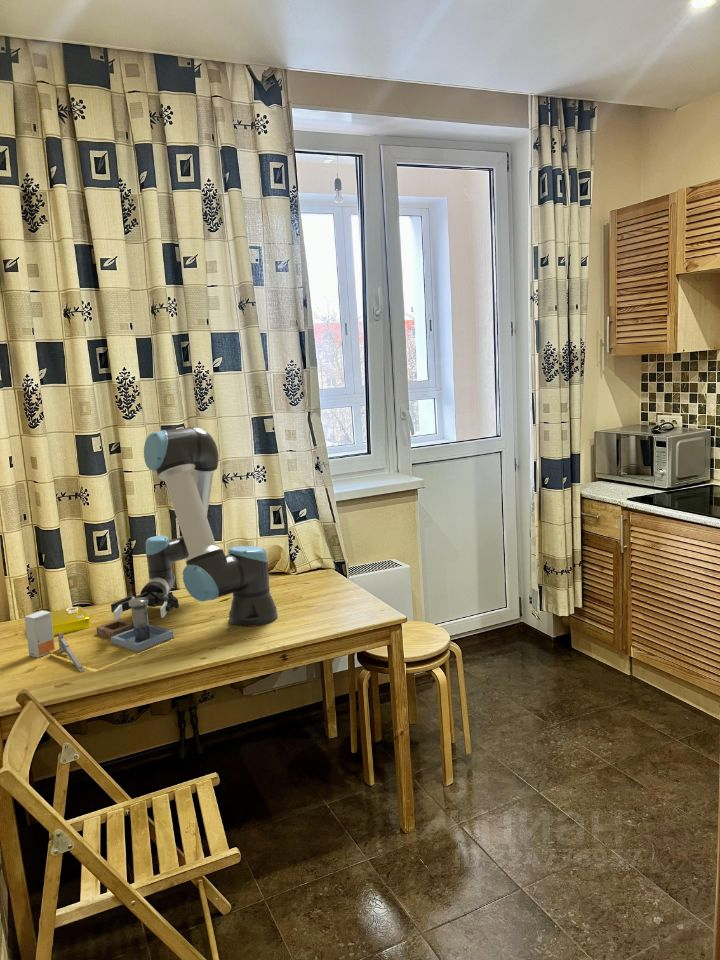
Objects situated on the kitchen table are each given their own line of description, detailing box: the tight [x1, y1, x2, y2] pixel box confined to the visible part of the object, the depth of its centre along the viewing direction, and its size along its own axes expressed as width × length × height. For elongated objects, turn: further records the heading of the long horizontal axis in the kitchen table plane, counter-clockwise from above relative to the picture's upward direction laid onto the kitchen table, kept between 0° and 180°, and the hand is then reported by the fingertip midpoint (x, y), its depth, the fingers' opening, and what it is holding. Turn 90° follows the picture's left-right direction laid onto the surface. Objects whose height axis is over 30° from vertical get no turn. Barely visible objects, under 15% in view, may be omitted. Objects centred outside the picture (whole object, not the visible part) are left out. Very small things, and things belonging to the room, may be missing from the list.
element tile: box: [50, 605, 92, 637], centre depth 236 cm, size 15×15×5 cm
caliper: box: [57, 632, 85, 673], centre depth 209 cm, size 20×1×6 cm, turn 37°
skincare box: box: [24, 610, 56, 659], centre depth 215 cm, size 6×4×12 cm
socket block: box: [96, 618, 134, 639], centre depth 229 cm, size 8×8×3 cm
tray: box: [110, 624, 175, 654], centre depth 221 cm, size 13×13×2 cm
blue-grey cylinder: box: [129, 597, 150, 643], centre depth 220 cm, size 6×6×12 cm
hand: (138, 614), depth 218 cm, fingers open, 13 cm apart
